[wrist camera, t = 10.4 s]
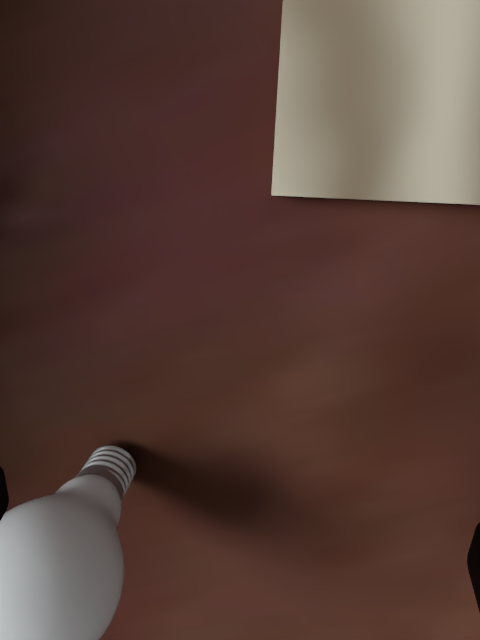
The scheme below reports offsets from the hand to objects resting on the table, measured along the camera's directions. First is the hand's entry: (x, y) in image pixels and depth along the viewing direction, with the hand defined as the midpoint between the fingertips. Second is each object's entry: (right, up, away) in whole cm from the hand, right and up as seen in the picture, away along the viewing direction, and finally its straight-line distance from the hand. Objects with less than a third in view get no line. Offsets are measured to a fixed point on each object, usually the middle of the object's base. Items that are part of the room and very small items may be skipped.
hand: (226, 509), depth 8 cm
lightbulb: (-7, -4, +17) cm, 18 cm away
